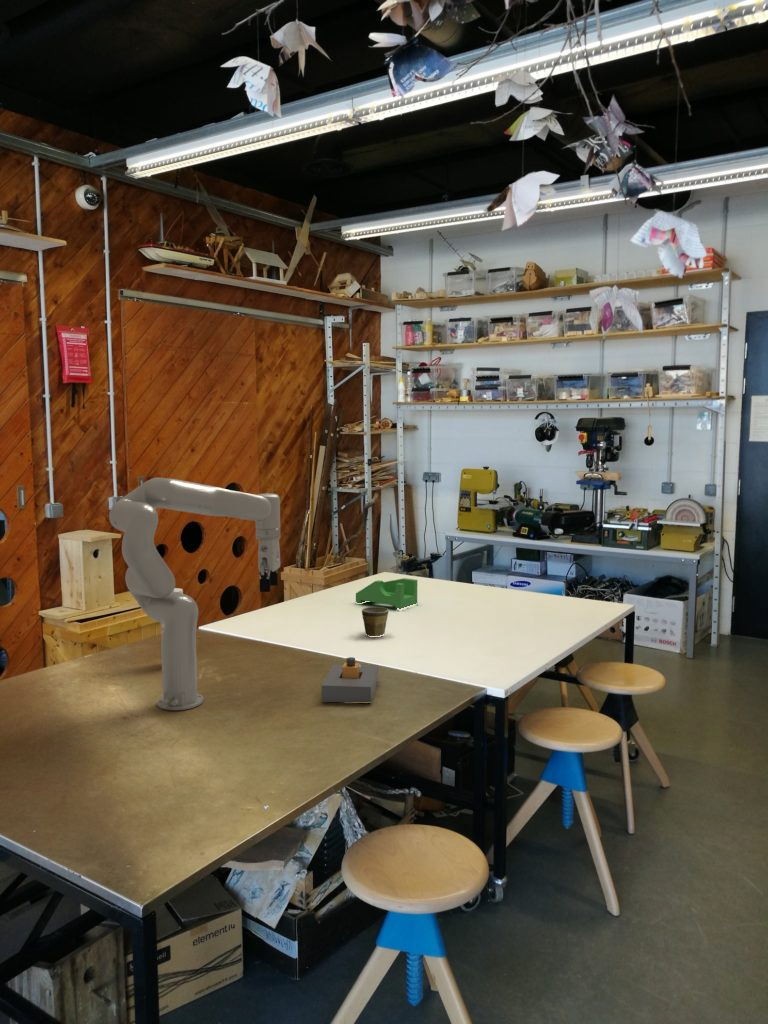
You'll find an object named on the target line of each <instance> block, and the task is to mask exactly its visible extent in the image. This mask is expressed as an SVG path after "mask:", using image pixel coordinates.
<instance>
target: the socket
mask: <svg viewBox="0 0 768 1024" xmlns="http://www.w3.org/2000/svg"><path fill="white" fill-rule="evenodd" d="M343 665H344V664H338V663H337V664H336V663H335V664H334V663H332V665H331V667H330V669H329V671H328V673H327V675H326V677H325V679H324V681H323V682H322V684H321V703H322V702H371V700H372V701H373V699H372V697H373V698H374V696H373V694H374V695H375V693H374V690H375V691H376V689H375V687H376V688H377V686H376V684H377V685H378V683H377V680H378V681H379V665H377V664H373V665H369V664H359V679H353V678H342V667H343ZM371 703H372V702H371Z"/></svg>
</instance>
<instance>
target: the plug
mask: <svg viewBox="0 0 768 1024" xmlns="http://www.w3.org/2000/svg"><path fill="white" fill-rule="evenodd" d="M345 659H346V662H344V663H343V664H342V665H343V667H342V678H353V679H359V665H360V663H359V662H356V658H355V657H354V656H353V657H351V656H350V657H347V658H345Z"/></svg>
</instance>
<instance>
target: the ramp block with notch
mask: <svg viewBox="0 0 768 1024" xmlns="http://www.w3.org/2000/svg"><path fill="white" fill-rule="evenodd" d="M365 601H370V602H369V603H371V602H372V603H377V604H384V605H390V606H395V609H396V608H399V609H401V608H404V607H407V606H410V605H413V604H416V603H417V604H418V579H414V578H413V579H412V578H406V577H404V578H398V579H394V580H387V581H384V580H379V579H378V580H375V581H373V582H371V583H370V584H368V585H366V586H365V587H364V588H362V589H361V590H359V591H357V592H356V593H355V603H356V602H357V603H362V602H365Z"/></svg>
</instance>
